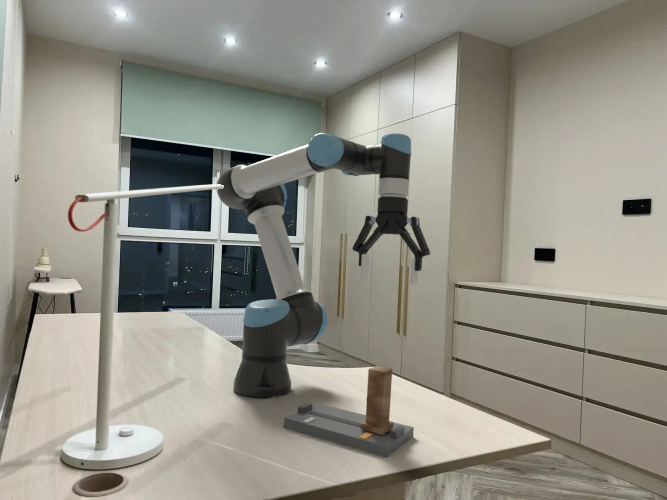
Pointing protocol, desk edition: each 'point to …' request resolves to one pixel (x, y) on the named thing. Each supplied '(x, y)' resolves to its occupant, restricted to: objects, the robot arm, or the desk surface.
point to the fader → (378, 401)
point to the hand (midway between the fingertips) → (388, 282)
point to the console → (346, 428)
